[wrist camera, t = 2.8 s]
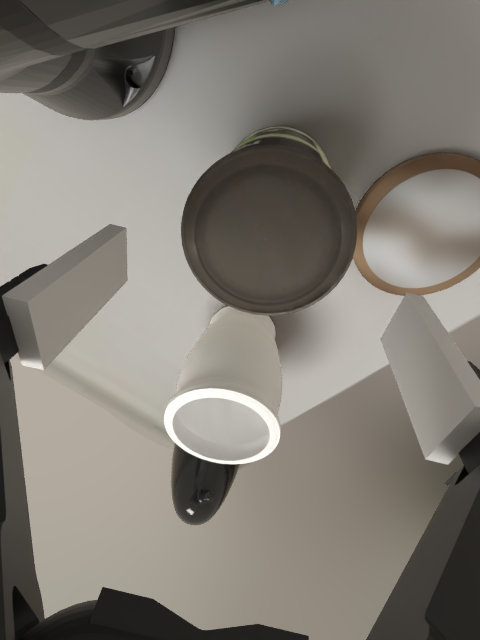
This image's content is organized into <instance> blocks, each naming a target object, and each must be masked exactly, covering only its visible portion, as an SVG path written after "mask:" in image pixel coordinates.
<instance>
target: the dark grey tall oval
mask: <svg viewBox="0 0 480 640" xmlns="http://www.w3.org/2000/svg"><path fill="white" fill-rule="evenodd" d="M239 466H240V464H221V463H215V462H211V461H207V460H204V459H201V458H198V457H196V456H194V455H192V454H190V453H188V452H186V451H185V450H183V449H182V448H181V447H179V446H178V445H177V444H176V443H175V444H174V450H173V458H172V472H171V489H172V499H173V504H174V508H175V511H176V513H177V515H178V516H179V518H180V519H181V520H182V521H184V522H185V523H187V524H190V525H201V524H204V523H205V522H207V521H208V520H210V519H211V518H212V517H213V516H214V515H215V513H216V512H217V511H218V510H219V508H220V506H221V505H222V503H223V502H224V500H225V498H226V496H227V494H228V492H229V490H230V488H231V486H232V484H233V481H234V479H235V477H236V474H237V471H238V469H239Z"/></svg>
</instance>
